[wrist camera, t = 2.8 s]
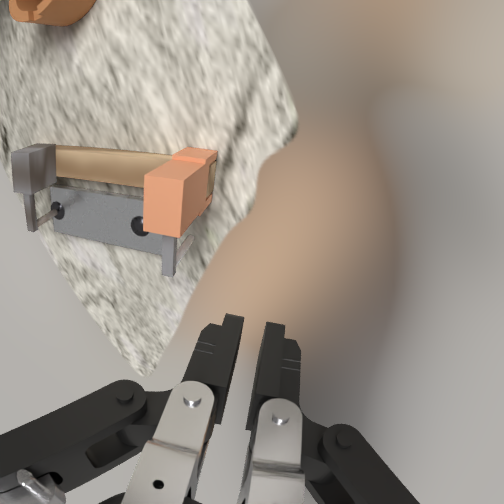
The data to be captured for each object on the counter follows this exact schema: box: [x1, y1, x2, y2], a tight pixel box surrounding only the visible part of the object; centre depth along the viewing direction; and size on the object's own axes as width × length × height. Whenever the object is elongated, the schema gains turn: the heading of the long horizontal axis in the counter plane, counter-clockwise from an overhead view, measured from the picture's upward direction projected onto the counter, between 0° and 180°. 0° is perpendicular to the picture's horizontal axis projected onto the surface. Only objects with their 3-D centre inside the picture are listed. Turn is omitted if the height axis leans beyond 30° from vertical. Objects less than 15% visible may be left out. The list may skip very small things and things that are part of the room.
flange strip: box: [50, 184, 162, 255], centre depth 34 cm, size 6×16×1 cm, turn 81°
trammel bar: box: [11, 144, 216, 232], centre depth 30 cm, size 9×24×7 cm, turn 81°
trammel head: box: [143, 147, 217, 277], centre depth 28 cm, size 10×3×10 cm, turn 171°
